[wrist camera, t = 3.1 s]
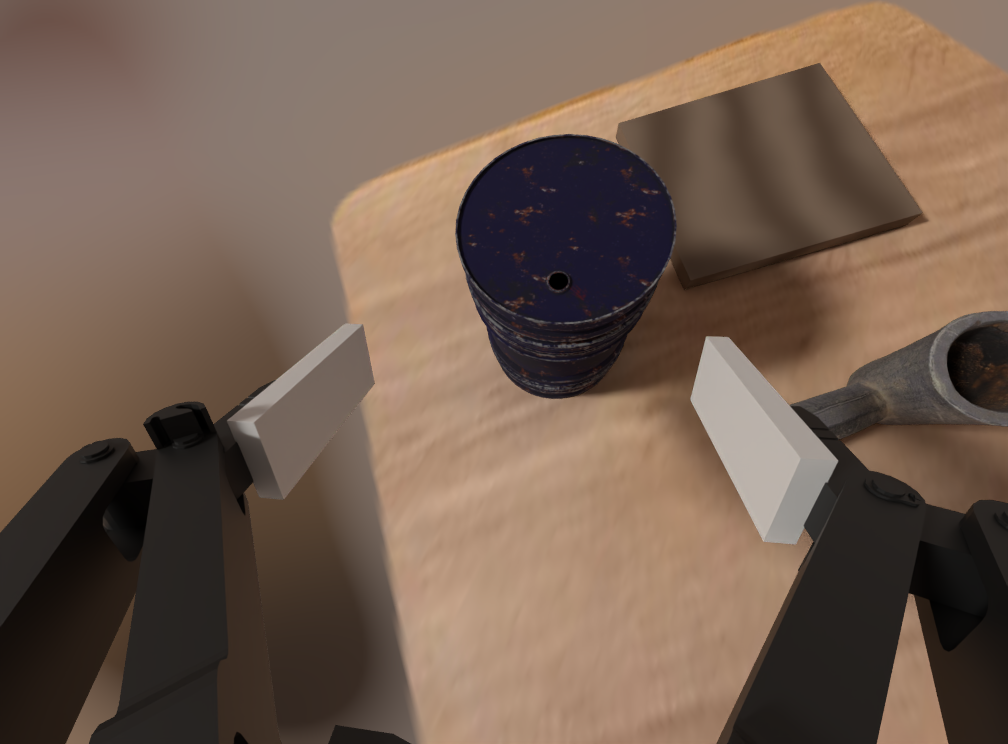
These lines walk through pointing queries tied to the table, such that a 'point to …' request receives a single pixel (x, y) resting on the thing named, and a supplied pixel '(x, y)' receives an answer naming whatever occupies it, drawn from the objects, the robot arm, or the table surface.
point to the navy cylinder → (563, 256)
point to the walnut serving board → (767, 174)
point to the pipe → (928, 381)
